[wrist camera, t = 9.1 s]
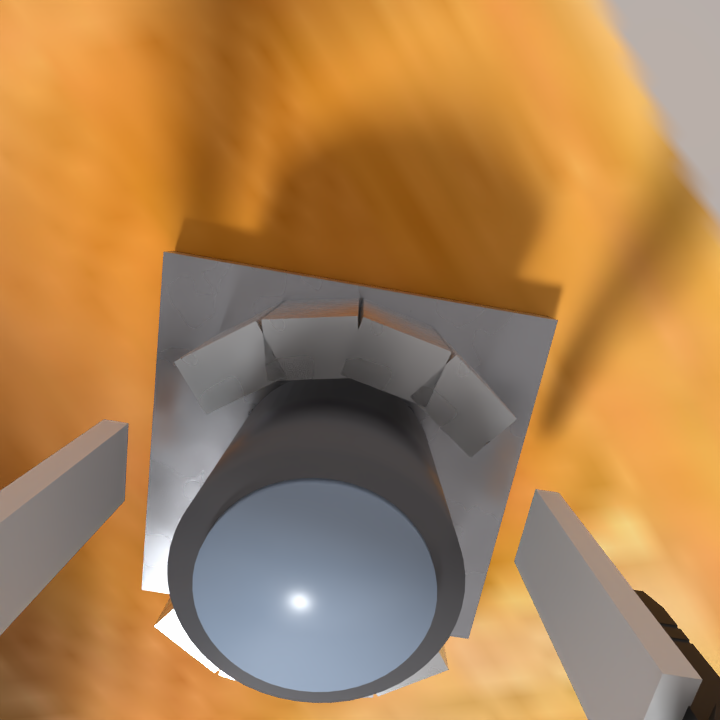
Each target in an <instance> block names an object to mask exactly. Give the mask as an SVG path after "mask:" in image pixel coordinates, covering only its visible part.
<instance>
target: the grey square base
mask: <svg viewBox="0 0 720 720" xmlns="http://www.w3.org/2000/svg"><path fill="white" fill-rule="evenodd" d="M557 321H558V320H556V319H553V318H551V317H548V316H543V315H537V314H531V313H525V312H520V311H514V310H508V309H502V308H497V307H491V306H485V305H479V304H474V303H468V302H462V301H457V300H451V299H445V298H439V297H434V296H428V295H422V294H416V293H411V292H405V291H399V290H393V289H388V288H382V287H376V286H371V285H365V284H359V283H353V282H348V281H342V280H336V279H330V278H325V277H319V276H313V275H307V274H302V273H296V272H290V271H285V270H279V269H273V268H267V267H262V266H256V265H250V264H244V263H239V262H233V261H227V260H221V259H216V258H210V257H204V256H199V255H193V254H187V253H181V252H176V251H168V252H164V256H163V271H162V286H161V302H160V317H159V332H158V348H157V363H156V378H155V393H154V409H153V424H152V439H151V454H150V470H149V485H148V500H147V516H146V531H145V546H144V561H143V577H142V590H147V591H154V592H160V593H167V594H169V588H168V581H167V562H168V556H169V549H170V545H171V542H172V538H173V535H174V532H175V530H176V528H177V526H178V524H179V522H180V520H181V518H182V516H183V514H184V512H185V511H186V509H187V508H188V506H189V505H190V503H191V502H192V500H193V499H194V497H195V496H196V494H197V493H198V491H199V490H200V488H201V487H202V485H203V484H204V482H205V481H206V479H207V478H208V476H209V475H210V473H211V472H212V470H213V469H214V467H215V466H216V464H217V463H218V461H219V460H220V458H221V457H222V455H223V454H224V452H225V451H226V449H227V448H228V446H229V445H230V443H231V442H232V440H233V439H234V437H235V436H236V434H237V433H238V431H239V430H240V428H241V427H242V425H243V424H244V422H245V421H246V419H247V418H248V416H249V415H250V413H251V412H252V411H253V409H254V408H255V407H256V406H257V404H258V403H259V402H260V401H261V400H262V399H263V398H264V397H266V396H267V395H268V394H269V393H270V392H272V391H273V390H275V389H276V388H278V387H280V386H281V385H283V384H285V383H287V382H289V381H292V380H309V379H338V378H351V379H354V380H356V381H359V382H361V383H364V384H367V385H369V386H372V387H374V388H377V389H380V390H382V391H385V392H387V393H390V394H393V395H395V396H398V397H399V398H400V399H402V400H403V401H404V402H405V403H406V404H407V405H408V407H409V408H410V409H411V410H412V411H413V413H414V414H415V415H416V417H417V419H418V420H419V422H420V423H421V425H422V428H423V430H424V432H425V434H426V437H427V441H428V444H429V447H430V450H431V454H432V457H433V460H434V463H435V467H436V470H437V473H438V476H439V480H440V483H441V486H442V489H443V493H444V496H445V499H446V502H447V505H448V509H449V512H450V515H451V518H452V522H453V525H454V528H455V531H456V535H457V538H458V541H459V545H460V548H461V552H462V555H463V560H464V568H465V594H464V599H463V604H462V609H461V612H460V615H459V617H458V620H457V623H456V625H455V627H454V629H453V631H452V633H451V635H450V636H454V637H460V638H467V639H468V638H469V635H470V631H471V628H472V624H473V621H474V617H475V614H476V610H477V606H478V603H479V599H480V596H481V592H482V589H483V585H484V581H485V578H486V574H487V571H488V567H489V564H490V560H491V556H492V553H493V549H494V546H495V542H496V539H497V535H498V532H499V528H500V524H501V521H502V517H503V514H504V510H505V507H506V503H507V499H508V496H509V492H510V489H511V485H512V482H513V478H514V475H515V471H516V467H517V464H518V460H519V457H520V453H521V450H522V446H523V442H524V439H525V435H526V432H527V428H528V425H529V421H530V417H531V414H532V410H533V407H534V403H535V400H536V396H537V393H538V389H539V385H540V382H541V378H542V375H543V371H544V368H545V364H546V360H547V357H548V353H549V350H550V346H551V343H552V339H553V335H554V332H555V328H556V325H557ZM155 627H156V628H157V629H158V630H160V631H161V632H162V633H164V634H165V635H166V636H168V637H169V638H170V639H171V640H173V641H174V642H175V643H177V644H178V645H179V646H180V647H182V648H183V649H184V650H186V651H187V652H188V653H190V654H191V655H192V656H193V657H195V658H196V659H197V660H199V661H200V662H201V663H202V664H204V665H205V666H206V667H208V668H209V669H210V670H211V671H213V672H214V673H215V672H216V671H217V670H218V668H217V667H215V666H214V665H213V664H212V663H211V662H210V661H209V660H208V659H207V658H205V657H204V656H203V655H202V654H201V652H200V651H199V650H198V649H197V648H196V647H195V645H194V644H193V643H192V642H191V641H190V639H189V637H188V636H187V634H186V633H185V631H184V630H183V628H182V626H181V624H180V622H179V620H178V618H177V616H176V614H175V611H174V608H173V605H172V602H171V598H169V600H168V602H167V604H166V606H165V607H164V609H163V611H162V613H161V615H160V617H159V618H158V620H157V622H156V624H155ZM446 670H449V669H448V664H447V659H446V654H445V649H444V645H443V647H442V648H441V649H440V651H439V652H438V653H437V654H436V655H435V656H434V657H433V658H432V659H431V660H430V661H429V663H428V664H426V665H425V666H424V667H423V668H421V669H420V670H419V671H418V672H417V673H415V674H414V675H412V676H411V677H409V678H408V679H406V680H404V681H403V682H401V683H400V684H397V685H395V686H393V687H391V688H389V689H387V690H385V691H382V692H379V693H376V694H377V696H380V695H383V694H386V693H388V692H391V691H394V690H396V689H399V688H402V687H404V686H407V685H409V684H412V683H415V682H417V681H420V680H423V679H425V678H428V677H431V676H433V675H436V674H438V673H441V672H444V671H446ZM219 675H220V676H223V677H227V678H230V679H233V678H231V677H229V676H228V675H226V674H225V673H224V672H222V671H221V670H220V672H219ZM233 680H234V679H233ZM368 697H373V695H370V696H368ZM363 698H366V697H363Z"/></svg>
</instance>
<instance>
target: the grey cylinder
mask: <svg viewBox="0 0 720 720" xmlns="http://www.w3.org/2000/svg"><path fill="white" fill-rule="evenodd" d="M167 581H168V588H169V594H170V598H171V602H172V605H173V608H174V611H175V614H176V616H177V618H178V620H179V622H180V624H181V626H182V628H183V630H184V631H185V633H186V634H187V636H188V637H189V639H190V641H191V642H192V643H193V644H194V645H195V647H196V648H197V649H198V650H199V651H200V652H201V654H202V655H203V656H204V657H205V658H207V659H208V660H209V661H210V662H211V663H212V664H213V665H214V666H215V667H217V668H218V669H219V670H221V671H222V672H224V673H225V674H226V675H228V676H229V677H231V678H233V679H234V680H236V681H238V682H240V683H242V684H243V685H245V686H248V687H250V688H252V689H255V690H257V691H259V692H262V693H265V694H268V695H272V696H275V697H278V698H283V699H288V700H293V701H301V702H312V703H332V702H341V701H350V700H354V699H359V698H363V697H368V696H370V695H373V694H376V693H379V692H382V691H385V690H387V689H389V688H391V687H393V686H395V685H397V684H400V683H401V682H403V681H404V680H406V679H408V678H409V677H411V676H412V675H414V674H415V673H417V672H418V671H419V670H420V669H421V668H423V667H424V666H425V665H426V664H428V663H429V661H430V660H431V659H432V658H433V657H434V656H435V655H436V654H437V653H438V652H439V651H440V649H441V648H442V647H443V645H444V644H445V642H446V641H447V640H448V638H449V637H450V635H451V633H452V631H453V629H454V627H455V625H456V623H457V620H458V617H459V615H460V612H461V609H462V604H463V599H464V594H465V568H464V560H463V555H462V552H461V548H460V545H459V541H458V538H457V535H456V531H455V528H454V525H453V522H452V518H451V515H450V512H449V509H448V505H447V502H446V499H445V496H444V493H443V489H442V486H441V483H440V480H439V476H438V473H437V470H436V467H435V463H434V460H433V457H432V454H431V450H430V447H429V444H428V441H427V437H426V434H425V432H424V430H423V428H422V425H421V423H420V422H419V420H418V419H417V417H416V415H415V414H414V413H413V411H412V410H411V409H410V408H409V407H408V405H407V404H406V403H405V402H404V401H403V400H402V399H400V398H399V397H398V396H395V395H393V394H390V393H387V392H385V391H382V390H380V389H377V388H374V387H372V386H369V385H367V384H364V383H361V382H359V381H356V380H354V379H351V378H338V379H309V380H292V381H289V382H287V383H285V384H283V385H281V386H280V387H278V388H276V389H275V390H273V391H272V392H270V393H269V394H268V395H267V396H266V397H264V398H263V399H262V400H261V401H260V402H259V403H258V404H257V406H256V407H255V408H254V409H253V411H252V412H251V413H250V415H249V416H248V418H247V419H246V421H245V422H244V424H243V425H242V427H241V428H240V430H239V431H238V433H237V434H236V436H235V437H234V439H233V440H232V442H231V443H230V445H229V446H228V448H227V449H226V451H225V452H224V454H223V455H222V457H221V458H220V460H219V461H218V463H217V464H216V466H215V467H214V469H213V470H212V472H211V473H210V475H209V476H208V478H207V479H206V481H205V482H204V484H203V485H202V487H201V488H200V490H199V491H198V493H197V494H196V496H195V497H194V499H193V500H192V502H191V503H190V505H189V506H188V508H187V509H186V511H185V512H184V514H183V516H182V518H181V520H180V522H179V524H178V526H177V528H176V530H175V532H174V535H173V538H172V542H171V545H170V549H169V556H168V562H167Z"/></svg>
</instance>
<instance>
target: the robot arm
mask: <svg viewBox="0 0 720 720" xmlns="http://www.w3.org/2000/svg"><path fill="white" fill-rule="evenodd" d="M128 424H129V423H124V422H118V421H112V420H105V419H104V420H102V421H101V422H99V423H98V424H96V425H95V426H94V427H92V428H91V429H89V430H88V431H86V432H85V433H83V434H82V435H80V436H79V437H78V438H76V439H75V440H73V441H72V442H70V443H69V444H67V445H66V446H64V447H63V448H62V449H60V450H59V451H57V452H56V453H54V454H53V455H51V456H50V457H48V458H47V459H46V460H44V461H43V462H41V463H40V464H38V465H37V466H35V467H34V468H32V469H31V470H30V471H28V472H27V473H25V474H24V475H22V476H21V477H19V478H18V479H16V480H15V481H13V482H12V483H11V484H9V485H8V486H6V487H5V488H3V489H2V490H0V635H1V634H2V633H3V632H4V631H5V630H6V629H7V628H8V627H9V625H10V624H11V623H12V622H13V621H14V620H15V619H16V618H17V617H18V616H19V615H20V614H21V612H22V611H23V610H24V609H25V608H26V607H27V606H28V605H29V604H30V603H31V602H32V600H33V599H34V598H35V597H36V596H37V595H38V594H39V593H40V592H41V591H42V590H43V589H44V587H45V586H46V585H47V584H48V583H49V582H50V581H51V580H52V579H53V578H54V577H55V576H56V574H57V573H58V572H59V571H60V570H61V569H62V568H63V567H64V566H65V565H66V564H67V563H68V561H69V560H70V559H71V558H72V557H73V556H74V555H75V554H76V553H77V552H78V551H79V550H80V548H81V547H82V546H83V545H84V544H85V543H86V542H87V541H88V540H89V539H90V538H91V536H92V535H93V534H94V533H95V532H96V531H97V530H98V529H99V528H100V527H101V526H102V525H103V523H104V522H105V521H106V520H107V519H108V518H109V517H110V516H111V515H112V514H113V513H114V512H115V510H116V509H117V508H118V507H119V506H120V505H121V504H122V503H123V502H124V501H125V482H126V463H127V444H128ZM514 562H515V564H516V566H517V568H518V570H519V573H520V575H521V577H522V579H523V581H524V583H525V585H526V588H527V590H528V592H529V594H530V596H531V598H532V600H533V603H534V605H535V607H536V609H537V611H538V613H539V615H540V618H541V620H542V622H543V624H544V626H545V628H546V630H547V633H548V635H549V637H550V639H551V641H552V643H553V645H554V648H555V650H556V652H557V654H558V656H559V658H560V660H561V663H562V665H563V667H564V669H565V671H566V673H567V676H568V678H569V680H570V682H571V684H572V686H573V688H574V691H575V693H576V695H577V697H578V699H579V701H580V703H581V706H582V708H583V710H584V712H585V714H586V716H587V718H588V720H720V677H719V676H718V675H717V673H716V672H715V671H714V670H713V669H712V667H711V666H710V665H709V664H708V662H707V661H706V660H705V659H704V657H703V656H702V655H701V654H700V653H699V651H698V650H697V649H696V648H695V646H694V645H693V644H690V643H689V639H688V638H687V637H686V635H685V634H684V633H683V632H682V630H681V629H678V628H677V624H676V623H675V622H674V621H673V619H672V618H671V617H670V616H669V614H668V613H667V612H666V611H665V609H664V608H663V607H662V606H660V605H659V604H658V603H657V602H655V601H654V600H653V599H652V598H651V597H649V596H648V595H647V594H646V593H644V592H643V591H637V590H633V589H632V587H631V586H630V585H629V583H628V582H627V581H626V580H625V578H624V577H623V576H622V574H621V573H620V572H619V570H618V569H617V568H616V567H615V565H614V564H613V563H612V561H611V560H610V559H609V557H608V556H607V555H606V554H605V552H604V551H603V550H602V548H601V547H600V546H599V544H598V543H597V542H596V541H595V539H594V538H593V537H592V535H591V534H590V533H589V531H588V530H587V529H586V528H585V526H584V525H583V524H582V522H581V521H580V520H579V518H578V517H577V516H576V515H575V513H574V512H573V511H572V509H571V508H570V507H569V505H568V504H567V503H566V502H565V500H564V499H563V498H562V496H561V495H560V494H559V493H557V492H551V491H545V490H538V489H536V490H535V493H534V497H533V500H532V503H531V507H530V510H529V513H528V517H527V520H526V524H525V527H524V530H523V534H522V537H521V541H520V544H519V547H518V551H517V554H516V557H515V561H514Z"/></svg>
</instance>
